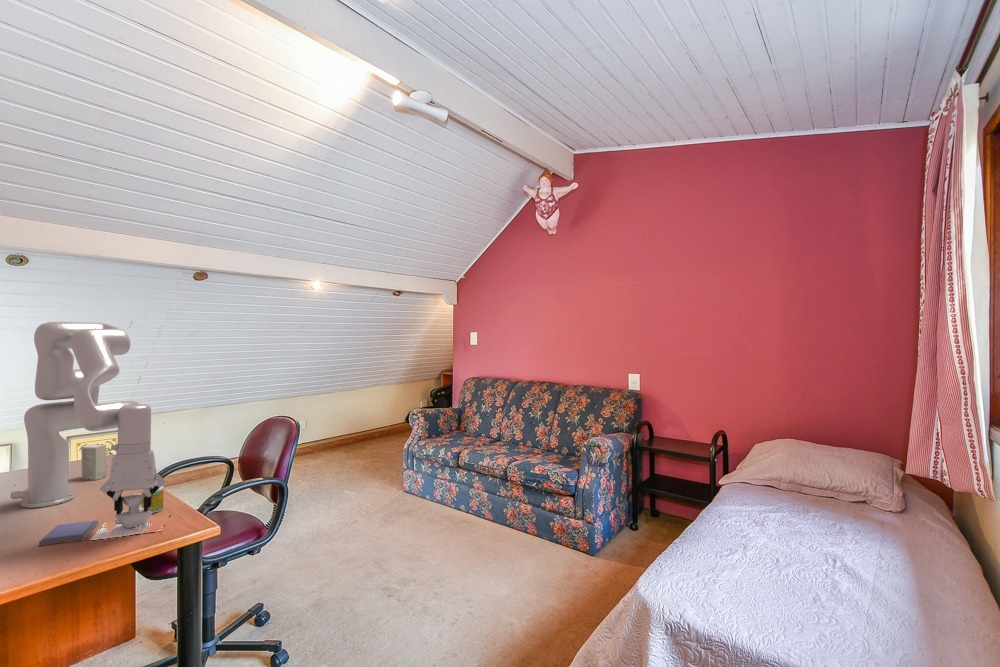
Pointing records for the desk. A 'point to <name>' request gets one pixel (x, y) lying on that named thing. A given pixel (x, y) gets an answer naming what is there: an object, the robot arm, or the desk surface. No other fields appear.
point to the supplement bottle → (156, 499)
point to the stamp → (133, 512)
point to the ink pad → (69, 532)
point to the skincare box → (93, 461)
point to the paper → (119, 531)
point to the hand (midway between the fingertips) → (133, 510)
